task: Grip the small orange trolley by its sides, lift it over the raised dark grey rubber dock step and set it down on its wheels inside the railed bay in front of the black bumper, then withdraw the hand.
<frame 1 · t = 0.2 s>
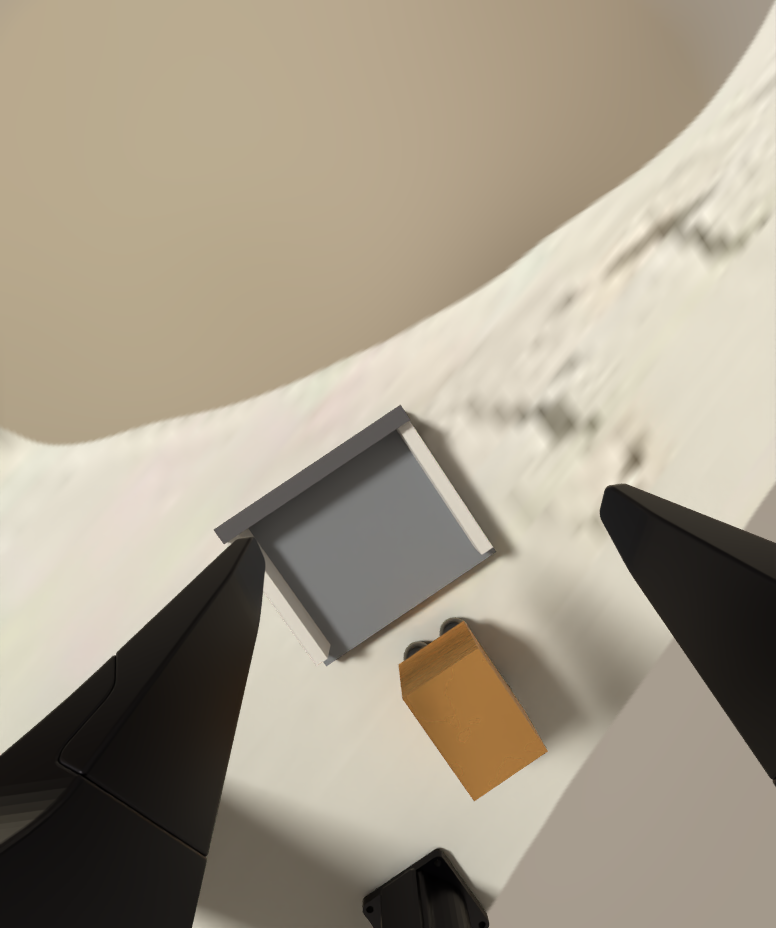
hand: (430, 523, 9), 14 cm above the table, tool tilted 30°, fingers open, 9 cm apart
trolley: (454, 668, 24), on the table
dock: (363, 534, 24), on the table
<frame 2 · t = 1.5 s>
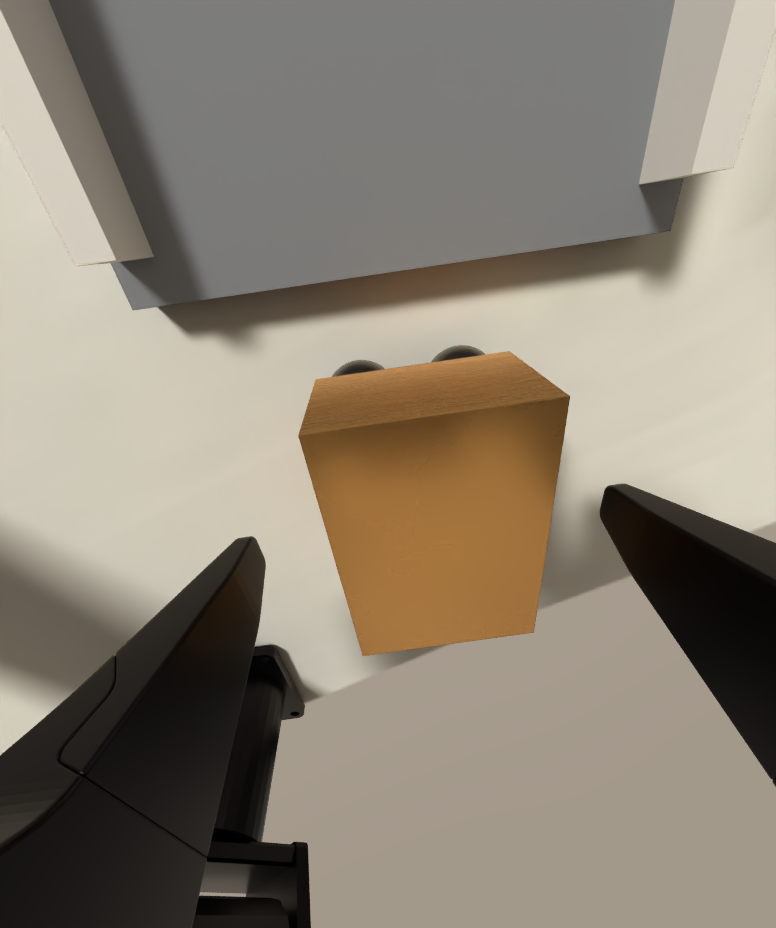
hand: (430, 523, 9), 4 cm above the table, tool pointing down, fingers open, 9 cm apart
trolley: (414, 448, 12), on the table
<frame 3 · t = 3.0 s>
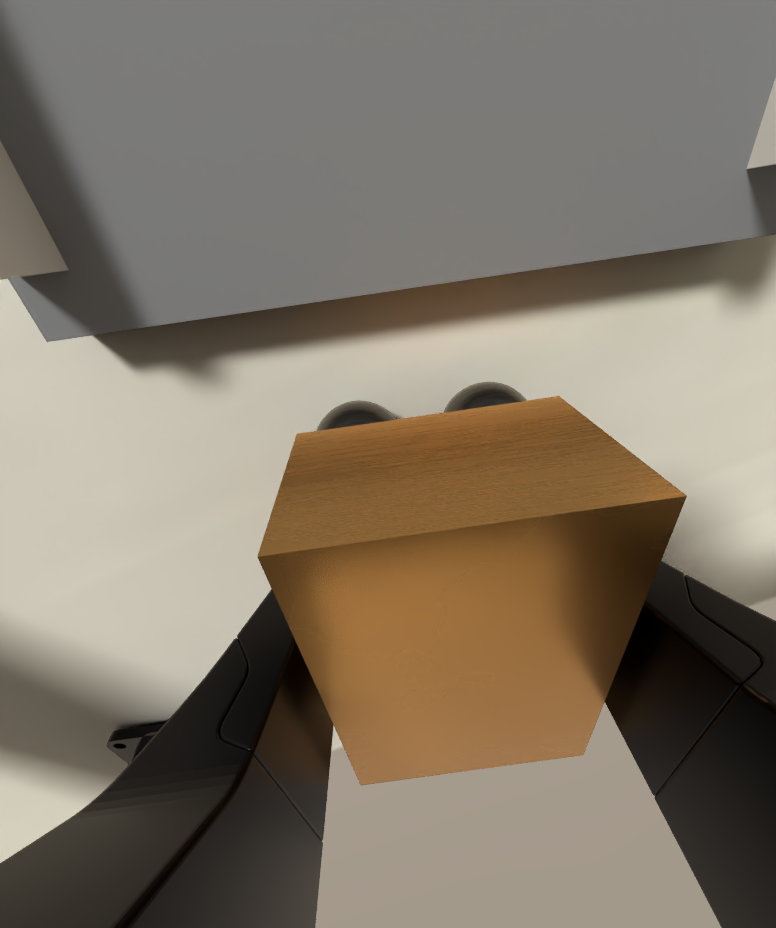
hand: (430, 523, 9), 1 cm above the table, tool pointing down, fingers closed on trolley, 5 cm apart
trolley: (424, 499, 10), on the table, touching gripper
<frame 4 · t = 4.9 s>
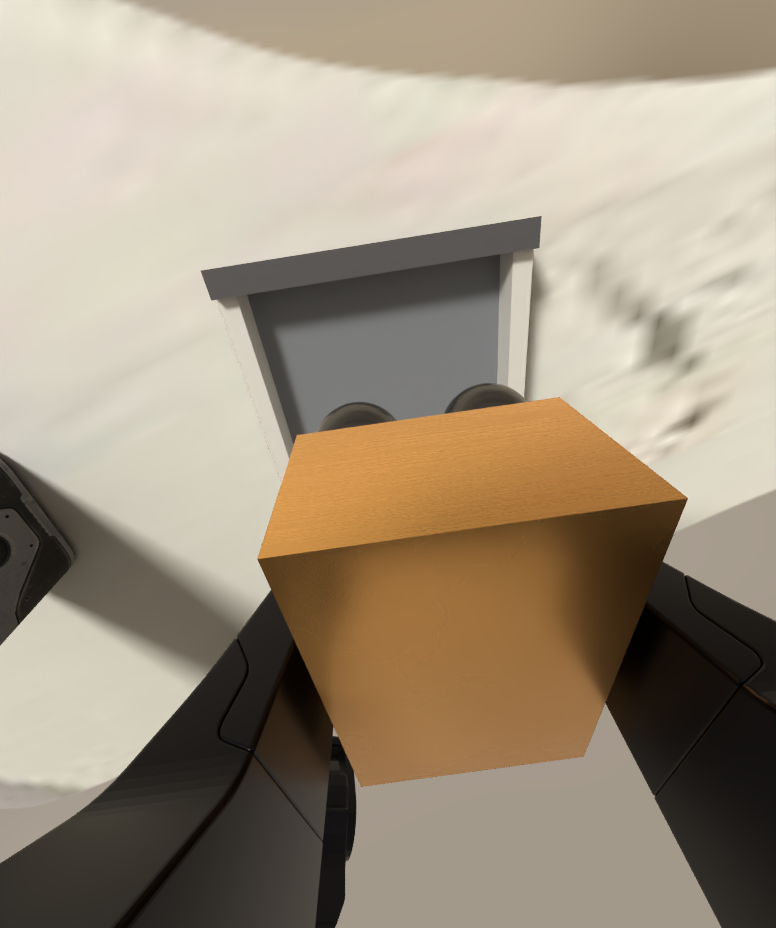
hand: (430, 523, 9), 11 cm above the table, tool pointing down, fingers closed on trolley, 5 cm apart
trolley: (424, 500, 10), point 10 cm above the table, touching gripper
dock: (385, 368, 19), on the table
electronic device: (0, 512, 22), on the table
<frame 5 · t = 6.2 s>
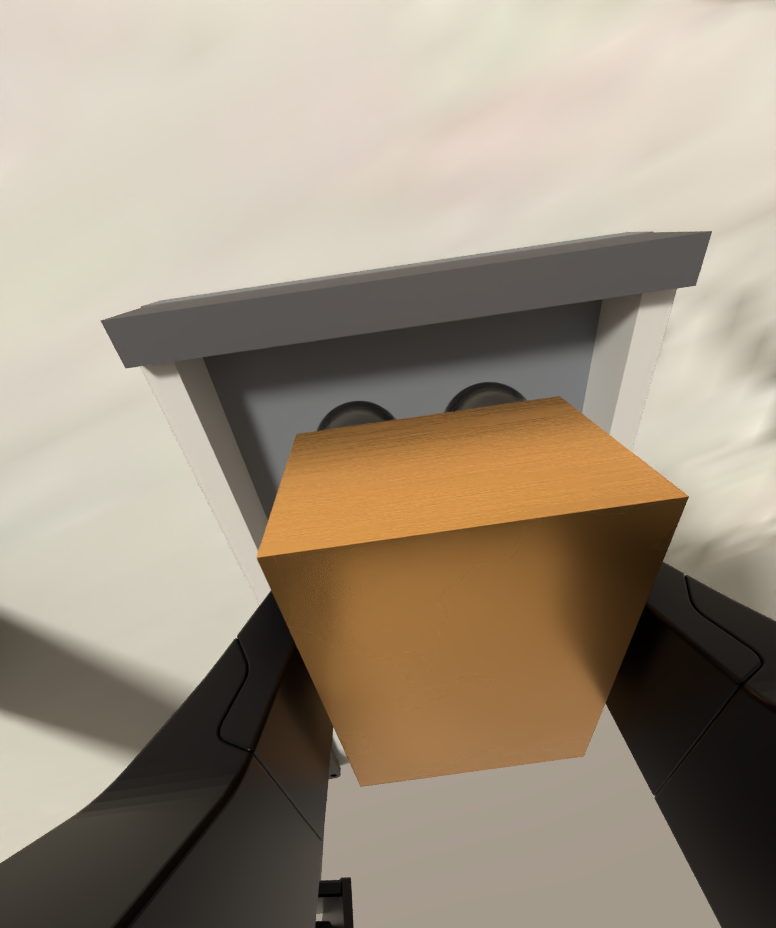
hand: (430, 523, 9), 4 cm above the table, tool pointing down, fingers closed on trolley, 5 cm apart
trolley: (424, 499, 10), point 3 cm above the table, touching gripper
dock: (410, 441, 13), on the table
when the fingers open (3 cm above the table, at t = 7.2 s): trolley drops 1 cm, resting on dock.
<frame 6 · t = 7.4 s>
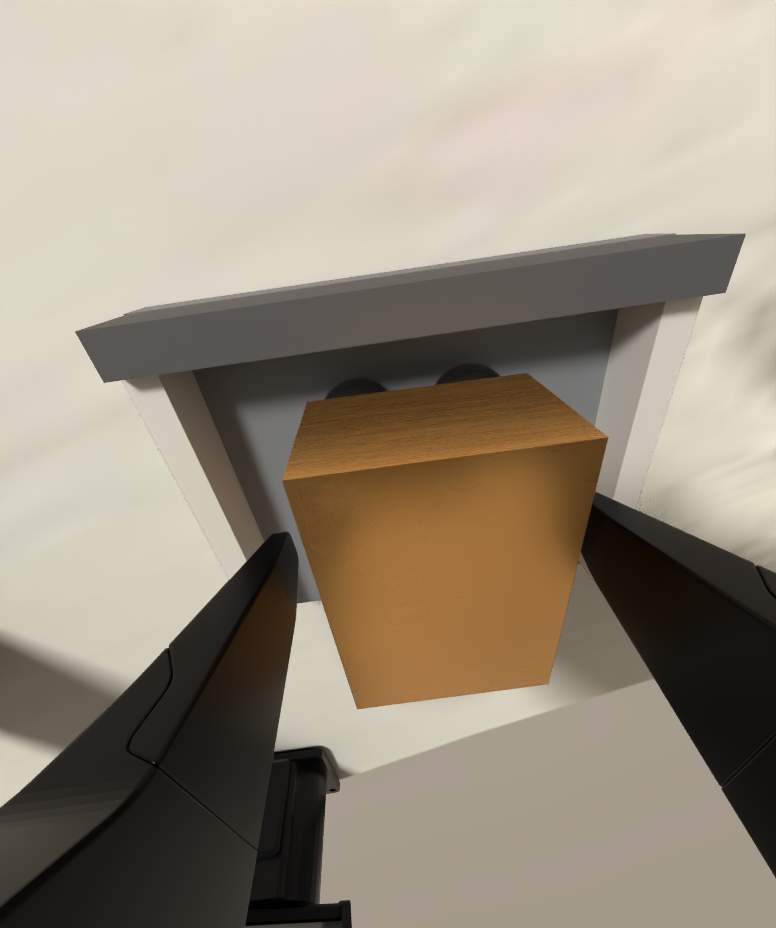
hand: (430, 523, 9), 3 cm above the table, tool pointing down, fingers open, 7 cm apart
trolley: (415, 471, 11), point 1 cm above the table, touching dock
dock: (413, 453, 12), on the table
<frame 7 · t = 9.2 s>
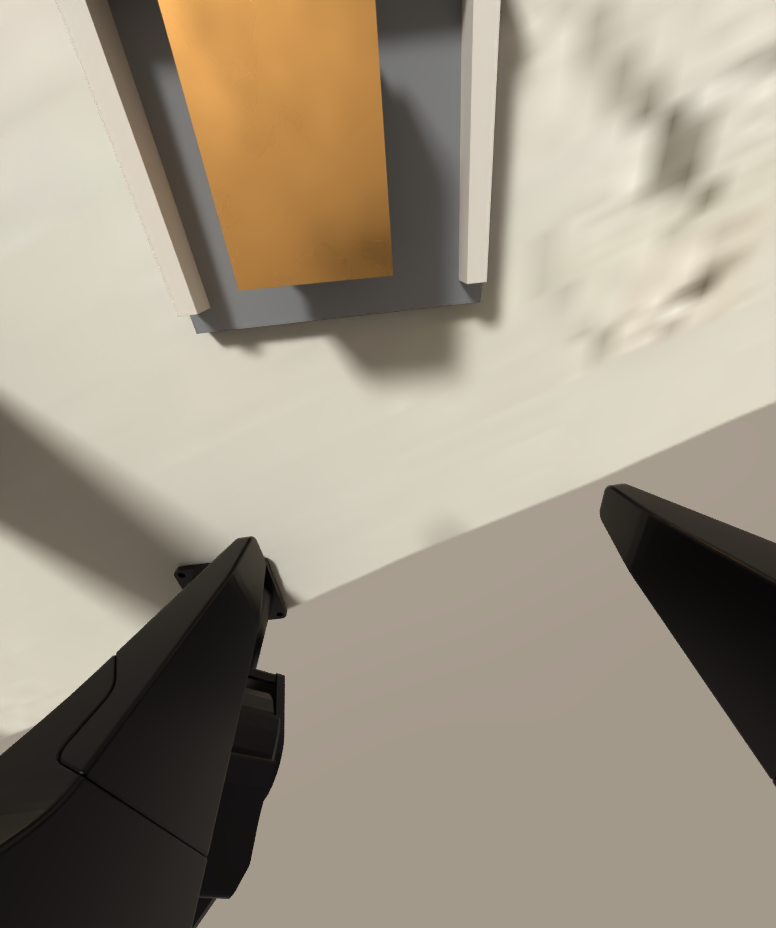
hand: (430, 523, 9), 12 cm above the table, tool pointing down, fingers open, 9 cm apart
trolley: (312, 163, 13), point 1 cm above the table, touching dock
dock: (316, 166, 14), on the table
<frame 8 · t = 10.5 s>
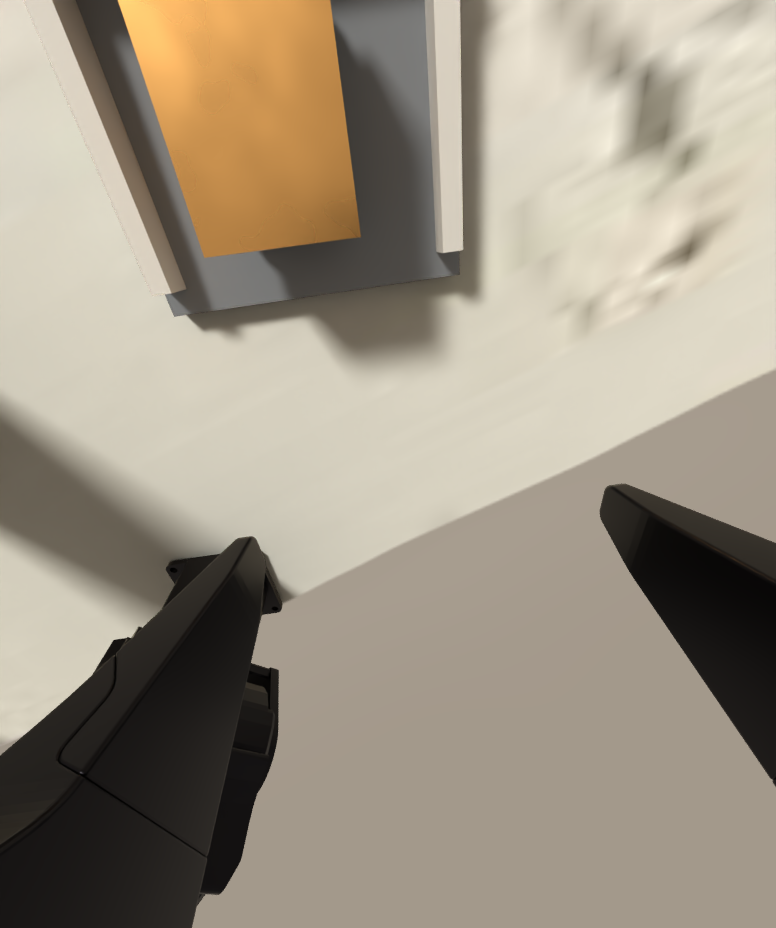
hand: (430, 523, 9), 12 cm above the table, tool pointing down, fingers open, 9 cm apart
trolley: (281, 135, 13), point 1 cm above the table, touching dock
dock: (286, 140, 14), on the table
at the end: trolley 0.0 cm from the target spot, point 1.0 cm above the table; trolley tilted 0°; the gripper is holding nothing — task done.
